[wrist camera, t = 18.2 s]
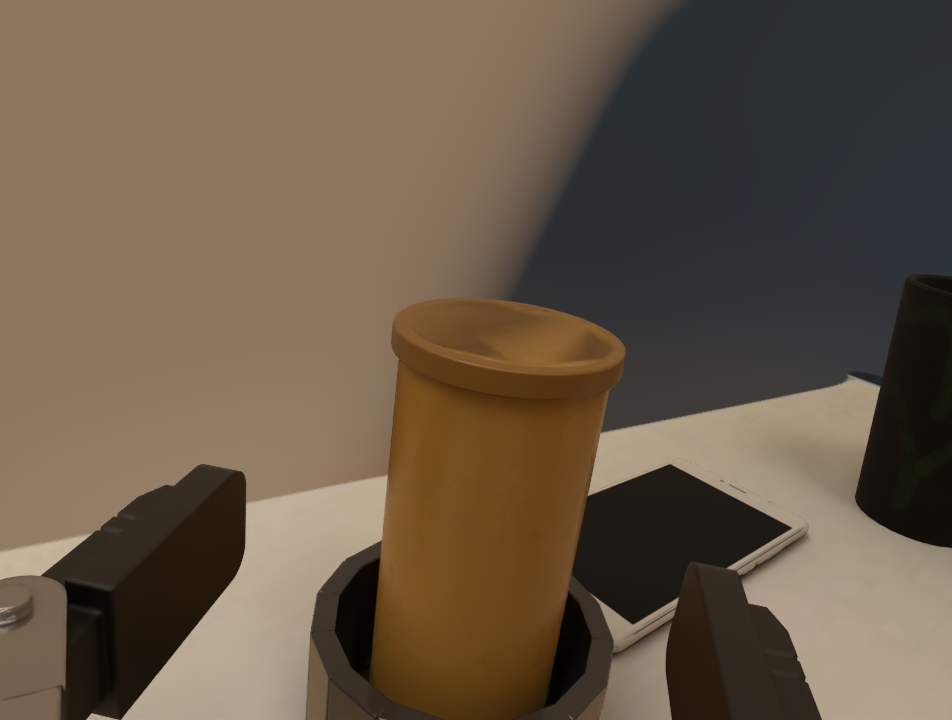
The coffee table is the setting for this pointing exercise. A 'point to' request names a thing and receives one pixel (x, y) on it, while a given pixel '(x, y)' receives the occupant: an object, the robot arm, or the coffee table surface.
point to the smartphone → (670, 541)
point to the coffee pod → (485, 501)
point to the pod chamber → (375, 716)
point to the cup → (914, 419)
